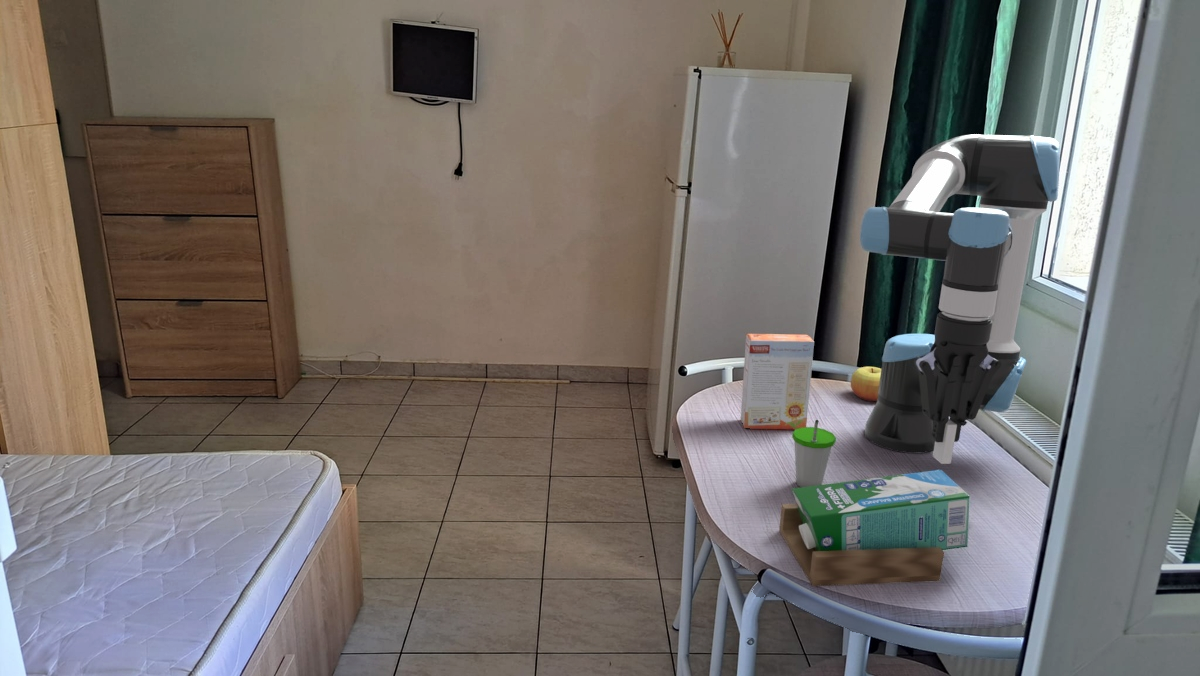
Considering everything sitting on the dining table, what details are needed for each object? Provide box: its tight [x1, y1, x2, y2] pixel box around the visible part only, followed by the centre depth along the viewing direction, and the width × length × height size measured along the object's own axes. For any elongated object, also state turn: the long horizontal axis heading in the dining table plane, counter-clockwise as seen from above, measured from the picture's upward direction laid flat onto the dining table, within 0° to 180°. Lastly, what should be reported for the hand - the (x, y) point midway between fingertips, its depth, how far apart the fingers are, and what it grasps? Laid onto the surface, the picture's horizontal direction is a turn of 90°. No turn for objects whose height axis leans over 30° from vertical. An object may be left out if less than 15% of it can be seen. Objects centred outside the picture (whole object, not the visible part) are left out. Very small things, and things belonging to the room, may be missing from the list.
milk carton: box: [791, 469, 971, 551], centre depth 124 cm, size 9×9×25 cm
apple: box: [850, 366, 881, 402], centre depth 194 cm, size 10×10×8 cm
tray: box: [778, 503, 946, 587], centre depth 125 cm, size 20×16×5 cm
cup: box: [791, 419, 837, 488], centre depth 147 cm, size 8×8×15 cm
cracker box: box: [740, 333, 815, 430], centre depth 174 cm, size 14×6×21 cm, turn 89°
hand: (941, 459), depth 122 cm, fingers closed
